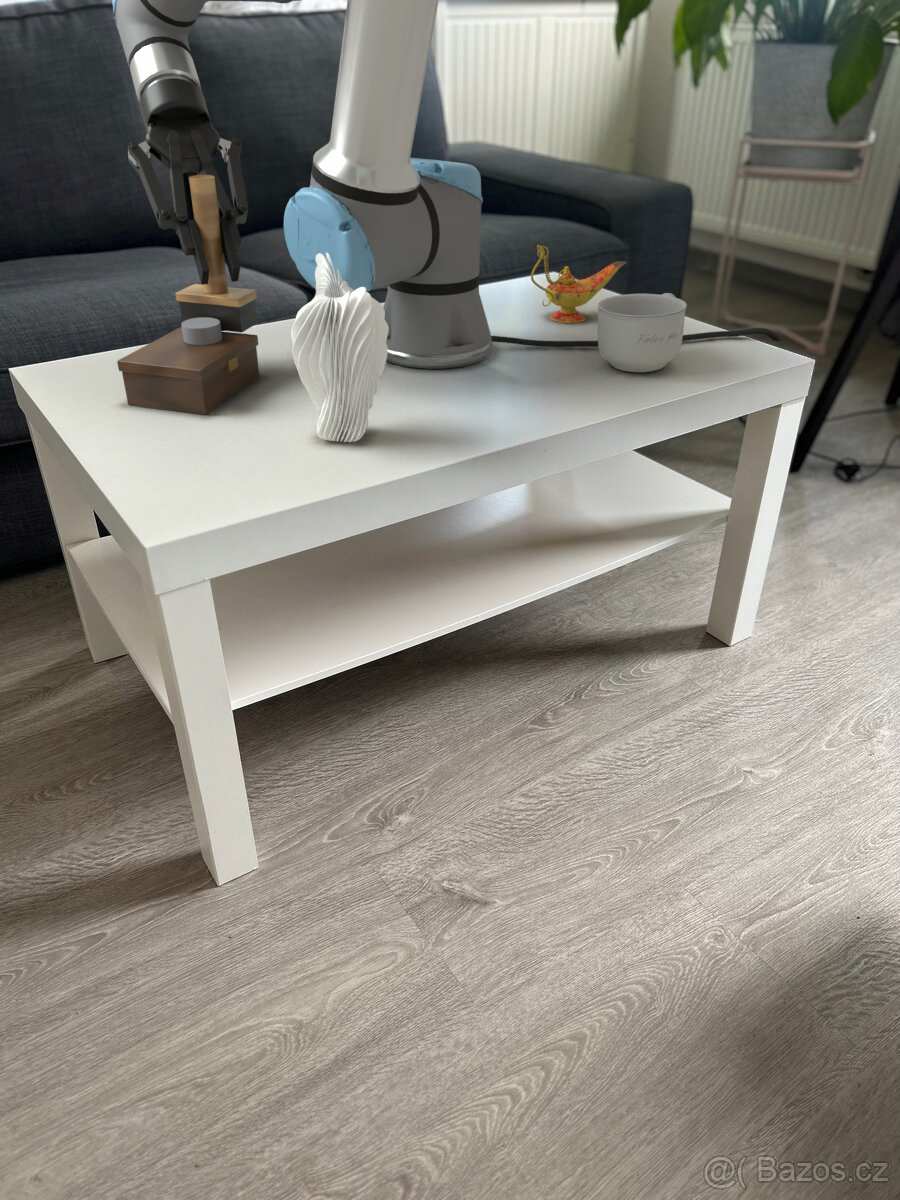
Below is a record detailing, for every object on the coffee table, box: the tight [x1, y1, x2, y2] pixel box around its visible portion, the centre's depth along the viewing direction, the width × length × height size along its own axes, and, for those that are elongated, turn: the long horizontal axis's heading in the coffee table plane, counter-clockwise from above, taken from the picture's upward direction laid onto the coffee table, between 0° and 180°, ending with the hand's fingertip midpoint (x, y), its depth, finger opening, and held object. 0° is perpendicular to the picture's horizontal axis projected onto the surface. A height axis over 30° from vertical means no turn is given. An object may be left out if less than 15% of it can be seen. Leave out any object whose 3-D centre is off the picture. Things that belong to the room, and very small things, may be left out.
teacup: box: [597, 292, 688, 373], centre depth 117 cm, size 14×11×8 cm
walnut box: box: [116, 326, 260, 416], centre depth 108 cm, size 11×13×5 cm
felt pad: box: [180, 317, 222, 345], centre depth 108 cm, size 4×4×2 cm
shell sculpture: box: [290, 253, 389, 443], centre depth 93 cm, size 8×8×18 cm
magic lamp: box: [530, 244, 627, 324], centre depth 134 cm, size 7×18×11 cm, turn 125°
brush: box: [175, 174, 258, 334], centre depth 108 cm, size 8×4×16 cm, turn 73°
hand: (220, 275), depth 106 cm, fingers closed on brush, 3 cm apart
